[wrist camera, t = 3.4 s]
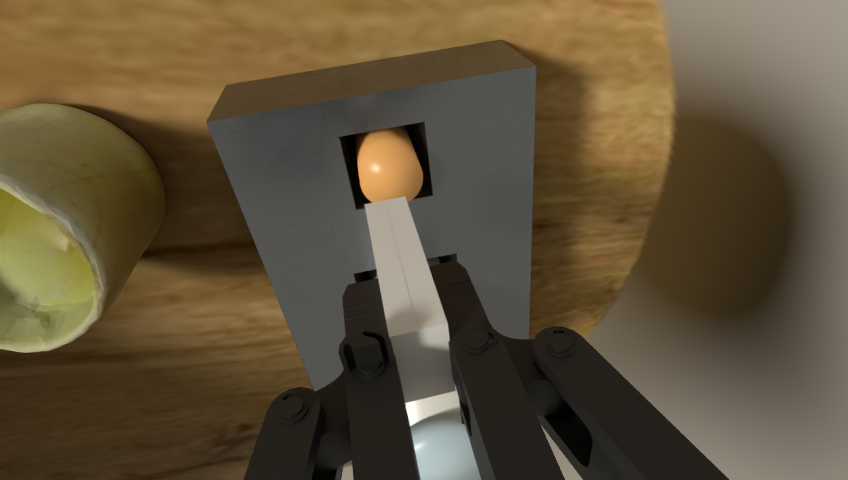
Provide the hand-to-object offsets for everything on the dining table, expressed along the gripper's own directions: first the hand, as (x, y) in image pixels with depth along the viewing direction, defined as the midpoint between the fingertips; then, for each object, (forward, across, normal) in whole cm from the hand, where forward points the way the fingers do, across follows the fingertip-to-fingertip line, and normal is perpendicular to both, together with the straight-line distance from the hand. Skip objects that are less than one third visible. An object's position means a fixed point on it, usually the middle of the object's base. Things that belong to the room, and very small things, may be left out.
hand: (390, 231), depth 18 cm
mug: (+11, -16, +2) cm, 20 cm away
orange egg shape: (+10, +1, 0) cm, 10 cm away
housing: (+10, +1, -8) cm, 13 cm away
